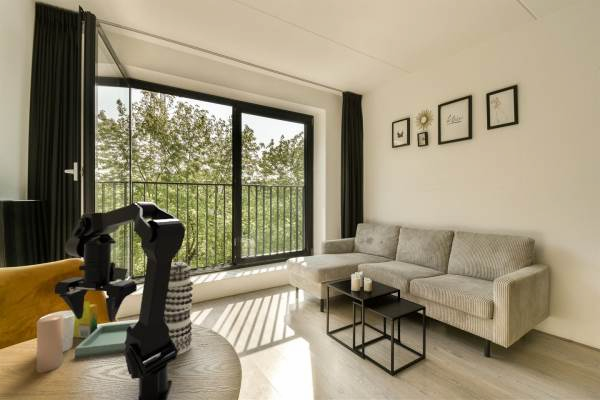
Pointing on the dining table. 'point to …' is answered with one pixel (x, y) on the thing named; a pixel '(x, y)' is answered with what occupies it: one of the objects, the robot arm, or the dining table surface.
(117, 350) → the tray
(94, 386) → the dining table surface
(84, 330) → the crayon box
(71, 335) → the white cup
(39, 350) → the peach rounded cone
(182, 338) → the decorative candle
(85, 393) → the dining table surface
